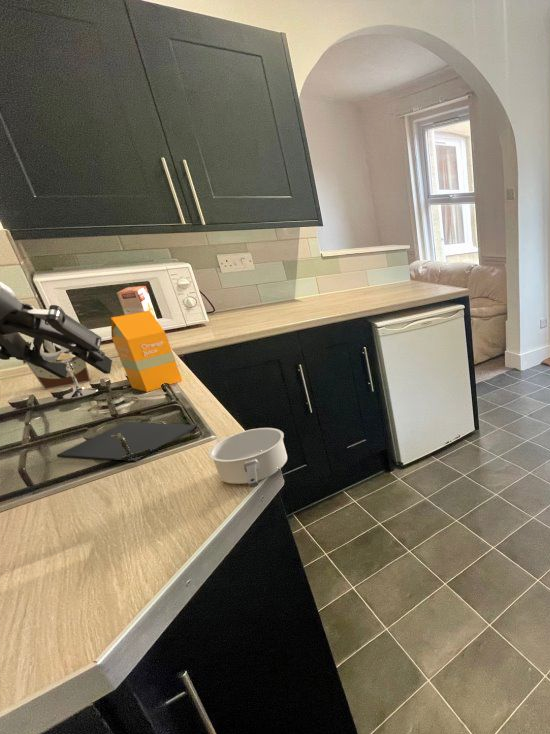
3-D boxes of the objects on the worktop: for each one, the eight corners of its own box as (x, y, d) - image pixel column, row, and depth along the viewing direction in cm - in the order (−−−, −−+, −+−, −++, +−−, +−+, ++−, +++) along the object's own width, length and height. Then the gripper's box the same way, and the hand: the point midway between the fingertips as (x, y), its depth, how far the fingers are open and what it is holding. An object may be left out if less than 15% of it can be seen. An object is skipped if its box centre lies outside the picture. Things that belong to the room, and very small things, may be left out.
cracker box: (159, 349, 148) (138, 290, 140) (138, 352, 146) (114, 292, 138) (166, 340, 160) (146, 285, 152) (146, 343, 157) (125, 286, 149)
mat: (57, 456, 82) (56, 454, 82) (128, 423, 95) (127, 421, 95) (136, 462, 79) (135, 460, 79) (197, 427, 92) (196, 425, 92)
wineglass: (50, 397, 72) (18, 329, 67) (91, 386, 77) (64, 321, 72) (68, 401, 70) (37, 331, 65) (110, 389, 74) (83, 323, 70)
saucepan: (218, 527, 62) (206, 496, 60) (218, 465, 77) (209, 439, 75) (302, 499, 68) (294, 470, 65) (286, 446, 83) (280, 422, 81)
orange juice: (182, 380, 119) (158, 311, 112) (147, 392, 112) (118, 318, 104) (166, 376, 122) (141, 309, 115) (131, 387, 115) (102, 316, 107)
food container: (99, 374, 126) (85, 342, 122) (97, 379, 122) (83, 346, 118) (40, 385, 119) (24, 351, 115) (37, 391, 115) (19, 356, 111)
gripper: (-153, 319, 51) (17, 394, 72) (37, 306, 55) (145, 381, 76) (-130, 270, 54) (27, 356, 74) (49, 262, 58) (150, 345, 79)
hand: (87, 369), depth 75 cm, fingers closed on wineglass, 6 cm apart
